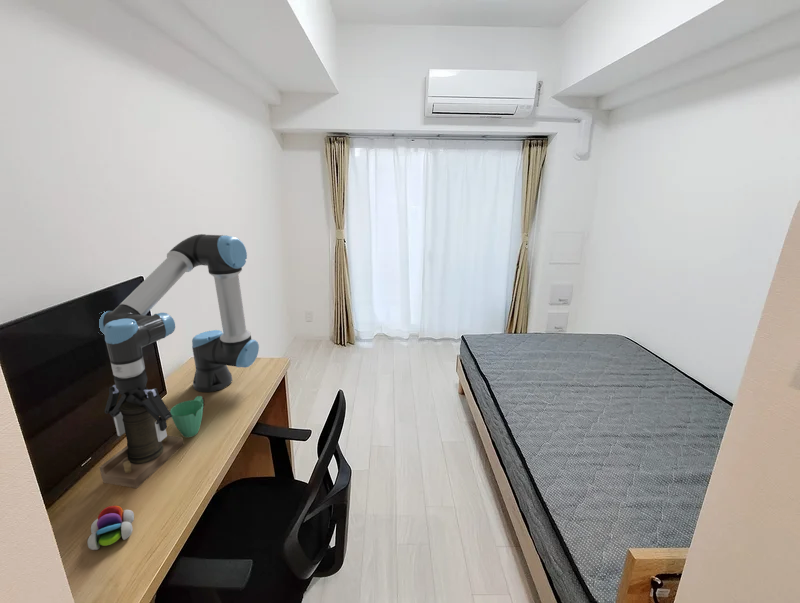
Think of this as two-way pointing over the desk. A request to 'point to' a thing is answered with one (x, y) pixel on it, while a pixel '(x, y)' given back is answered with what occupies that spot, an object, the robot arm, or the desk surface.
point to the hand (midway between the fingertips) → (142, 436)
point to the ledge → (137, 465)
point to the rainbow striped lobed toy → (110, 527)
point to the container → (140, 433)
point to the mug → (188, 416)
